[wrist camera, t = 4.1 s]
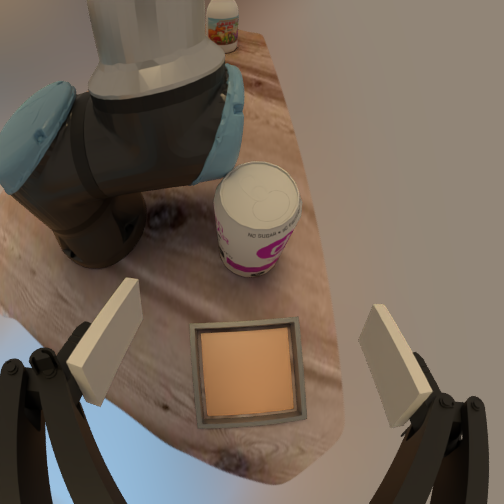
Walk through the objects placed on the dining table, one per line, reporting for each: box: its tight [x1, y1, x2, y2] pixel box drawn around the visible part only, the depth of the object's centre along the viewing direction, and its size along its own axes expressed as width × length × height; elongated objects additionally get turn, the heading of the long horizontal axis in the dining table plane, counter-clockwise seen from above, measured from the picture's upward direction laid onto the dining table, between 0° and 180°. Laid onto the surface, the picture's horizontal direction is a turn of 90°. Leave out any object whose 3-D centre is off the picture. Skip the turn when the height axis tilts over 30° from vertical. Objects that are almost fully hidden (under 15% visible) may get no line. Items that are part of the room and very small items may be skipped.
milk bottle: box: [206, 0, 239, 53], centre depth 46 cm, size 8×8×20 cm
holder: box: [189, 317, 307, 428], centre depth 31 cm, size 13×13×2 cm
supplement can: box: [213, 161, 302, 277], centre depth 31 cm, size 8×8×15 cm
